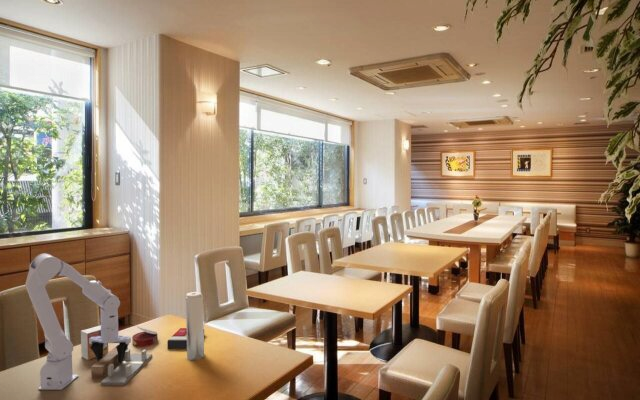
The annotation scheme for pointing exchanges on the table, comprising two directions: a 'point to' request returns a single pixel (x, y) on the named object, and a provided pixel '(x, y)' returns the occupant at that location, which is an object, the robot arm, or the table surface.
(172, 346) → the black and red box
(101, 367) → the banded tan post
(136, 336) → the canned food
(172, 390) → the table surface
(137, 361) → the base plate
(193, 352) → the paper towel roll
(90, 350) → the small box
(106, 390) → the table surface
